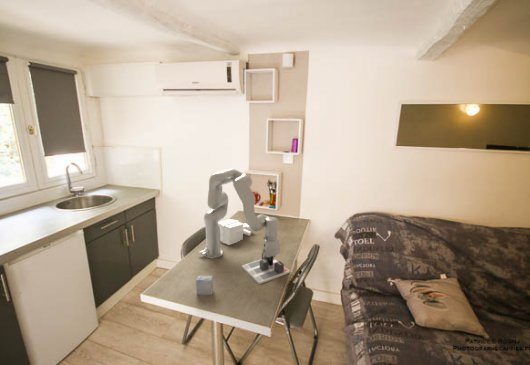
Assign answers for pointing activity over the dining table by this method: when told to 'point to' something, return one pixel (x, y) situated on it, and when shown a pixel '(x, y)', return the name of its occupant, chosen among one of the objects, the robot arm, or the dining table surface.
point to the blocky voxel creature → (232, 231)
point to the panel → (266, 275)
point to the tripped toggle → (264, 264)
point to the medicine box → (204, 285)
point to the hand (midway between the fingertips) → (270, 264)
